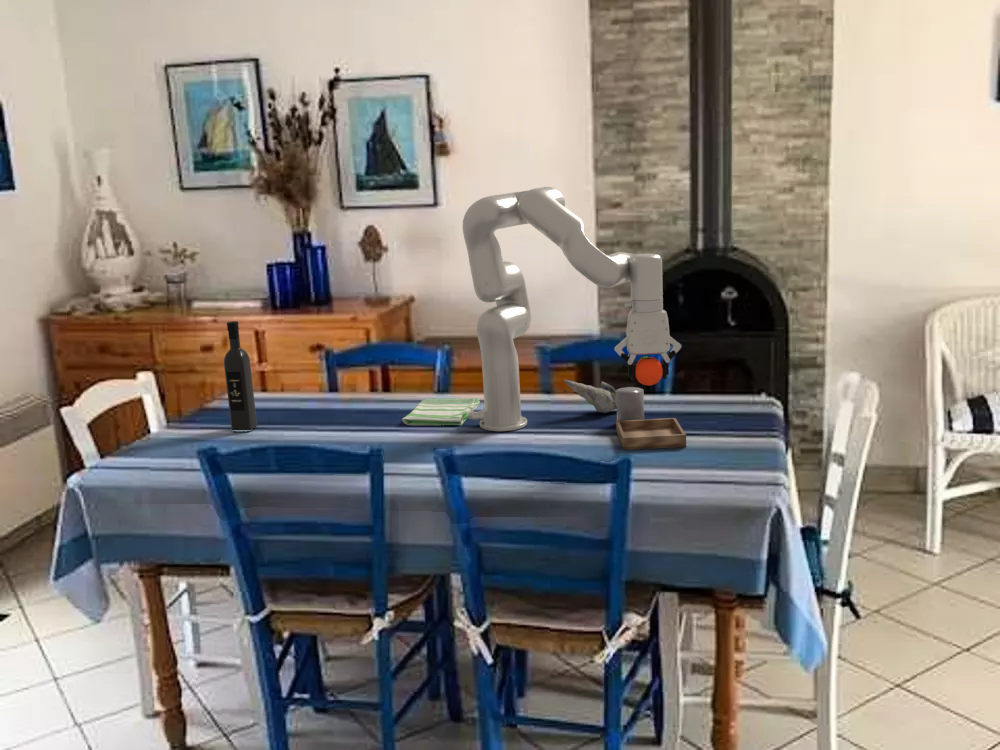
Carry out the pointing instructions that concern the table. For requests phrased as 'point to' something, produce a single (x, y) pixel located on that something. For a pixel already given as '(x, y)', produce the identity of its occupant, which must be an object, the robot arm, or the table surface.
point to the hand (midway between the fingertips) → (648, 378)
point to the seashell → (596, 395)
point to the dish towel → (441, 412)
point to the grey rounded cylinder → (630, 403)
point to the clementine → (648, 371)
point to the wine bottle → (239, 383)
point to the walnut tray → (650, 434)
